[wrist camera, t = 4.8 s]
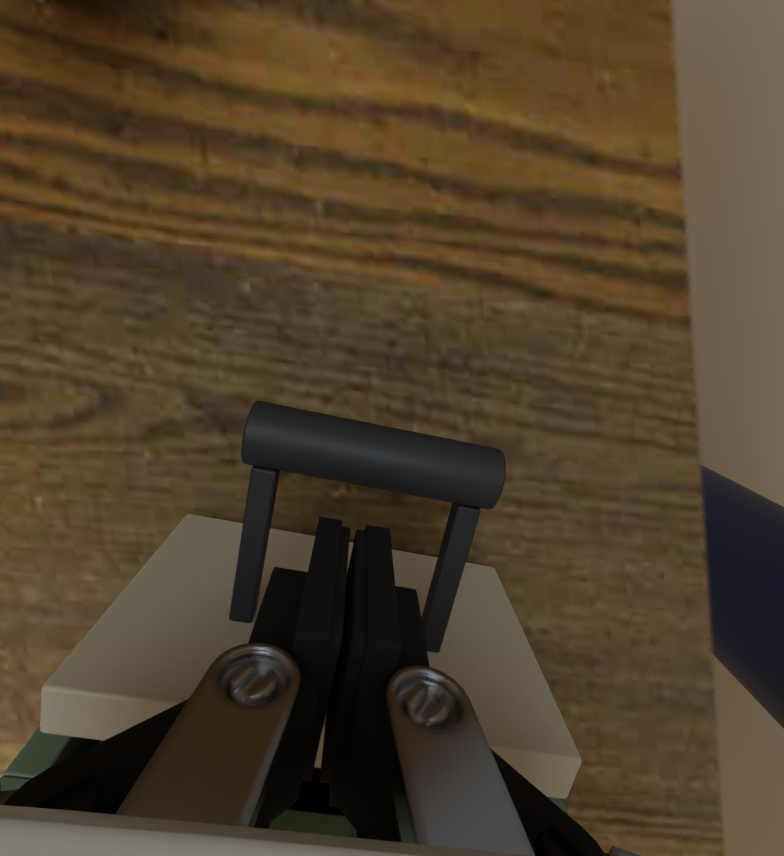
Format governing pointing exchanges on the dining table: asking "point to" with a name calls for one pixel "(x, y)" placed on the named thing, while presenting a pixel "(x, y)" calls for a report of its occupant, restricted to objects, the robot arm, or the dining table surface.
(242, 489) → the dining table surface
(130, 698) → the drawer
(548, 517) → the dining table surface
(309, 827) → the cabinet
